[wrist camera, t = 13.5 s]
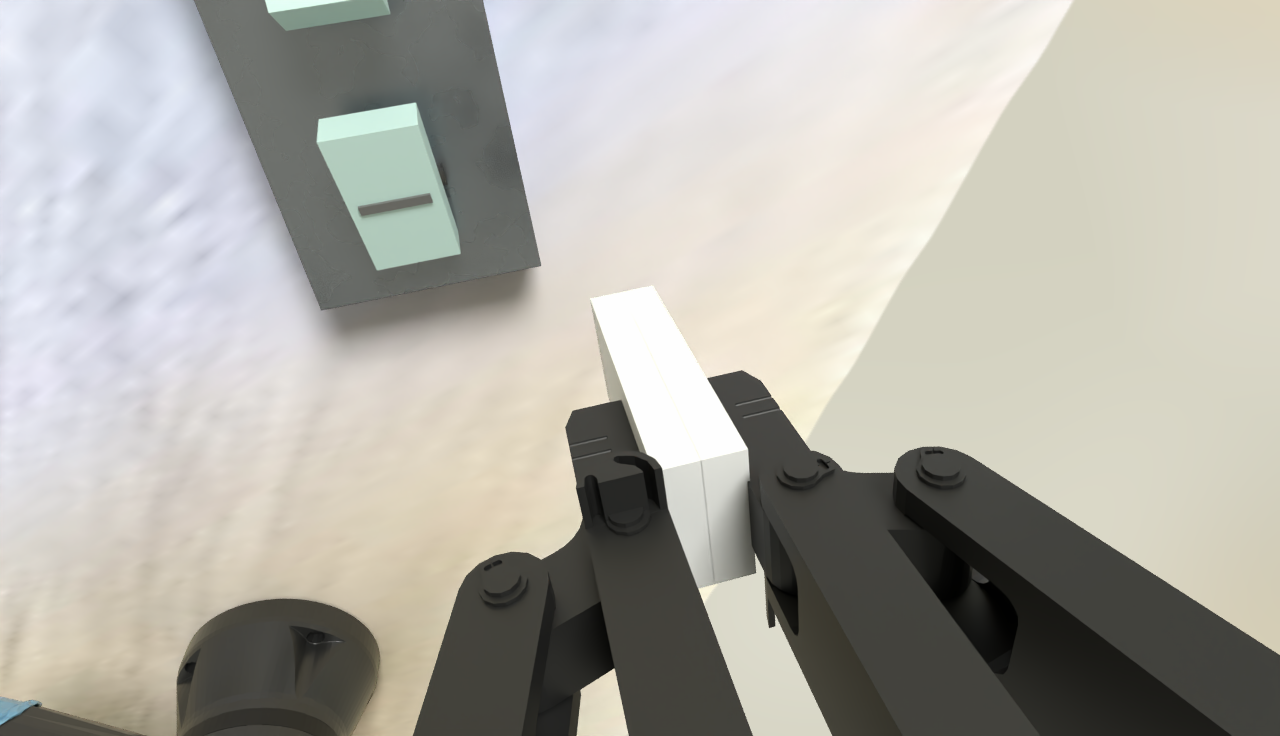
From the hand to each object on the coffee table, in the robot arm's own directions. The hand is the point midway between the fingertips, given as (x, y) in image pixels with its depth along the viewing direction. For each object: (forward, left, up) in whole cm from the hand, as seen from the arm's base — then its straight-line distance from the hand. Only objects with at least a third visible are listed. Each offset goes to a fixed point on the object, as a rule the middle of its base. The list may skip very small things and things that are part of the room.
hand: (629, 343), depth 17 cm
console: (-8, +5, -30) cm, 32 cm away
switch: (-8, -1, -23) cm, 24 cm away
